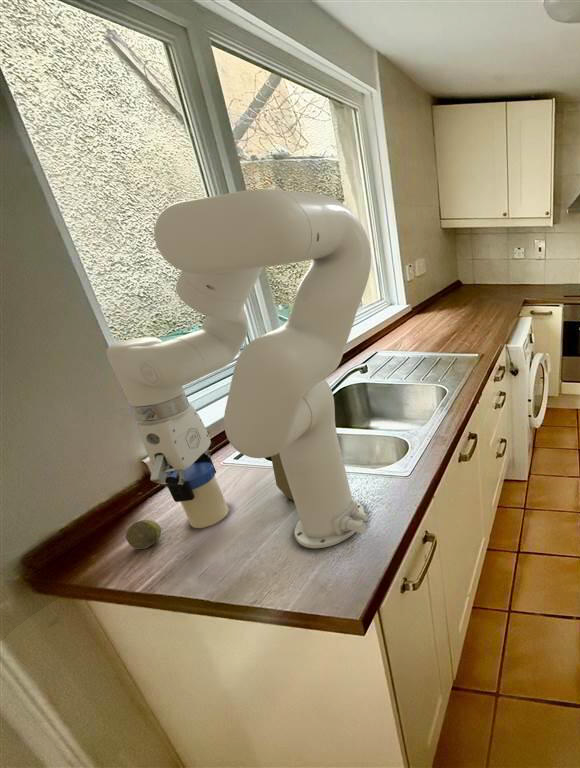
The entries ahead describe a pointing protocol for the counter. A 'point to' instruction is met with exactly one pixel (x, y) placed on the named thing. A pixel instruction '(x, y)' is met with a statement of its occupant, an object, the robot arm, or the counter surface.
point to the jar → (206, 505)
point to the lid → (198, 474)
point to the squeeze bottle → (281, 476)
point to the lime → (143, 534)
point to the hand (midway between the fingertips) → (196, 486)
